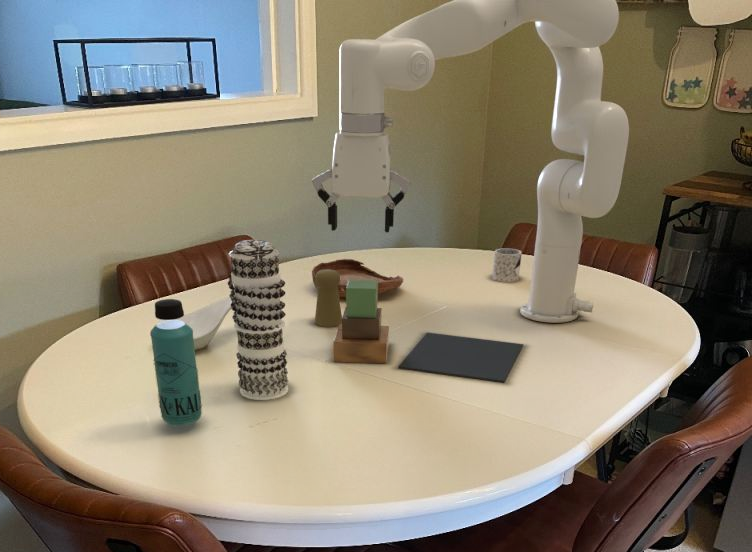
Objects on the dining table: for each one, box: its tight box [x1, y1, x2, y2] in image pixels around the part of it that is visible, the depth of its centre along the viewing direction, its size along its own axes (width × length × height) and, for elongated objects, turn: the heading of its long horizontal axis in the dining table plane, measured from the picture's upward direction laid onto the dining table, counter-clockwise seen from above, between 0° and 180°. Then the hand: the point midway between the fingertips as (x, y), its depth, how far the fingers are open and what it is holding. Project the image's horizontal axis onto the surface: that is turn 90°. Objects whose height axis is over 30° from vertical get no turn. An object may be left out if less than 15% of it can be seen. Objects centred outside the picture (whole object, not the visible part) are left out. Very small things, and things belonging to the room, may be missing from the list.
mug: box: [492, 247, 523, 283], centre depth 195 cm, size 10×7×7 cm
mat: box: [397, 332, 524, 384], centre depth 149 cm, size 20×20×1 cm
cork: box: [314, 269, 343, 328], centre depth 163 cm, size 6×6×11 cm
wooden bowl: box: [311, 258, 404, 298], centre depth 184 cm, size 22×20×5 cm
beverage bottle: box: [149, 298, 203, 426], centre depth 118 cm, size 6×7×20 cm
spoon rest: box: [174, 297, 236, 351], centre depth 155 cm, size 24×12×7 cm, turn 135°
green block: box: [345, 280, 379, 318], centre depth 145 cm, size 6×6×6 cm
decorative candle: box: [227, 239, 289, 401], centre depth 128 cm, size 9×9×25 cm
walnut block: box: [342, 306, 383, 340], centre depth 147 cm, size 7×7×4 cm
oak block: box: [333, 324, 390, 364], centre depth 149 cm, size 10×10×4 cm
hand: (360, 229), depth 139 cm, fingers open, 9 cm apart
